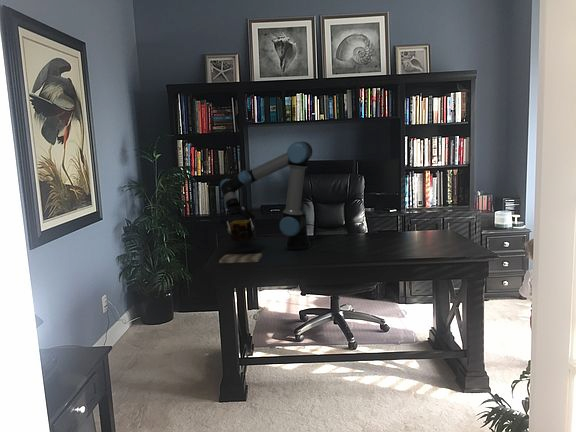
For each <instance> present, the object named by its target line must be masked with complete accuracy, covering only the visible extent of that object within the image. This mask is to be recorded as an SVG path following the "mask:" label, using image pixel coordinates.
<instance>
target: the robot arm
mask: <svg viewBox="0 0 576 432" xmlns="http://www.w3.org/2000/svg"><path fill="white" fill-rule="evenodd" d="M312 156H313V147H312V145H311V144H310V143H308V142H307V141H295V142H293V143H291V144H290V145H289V147H288V148H287V151H286V153H282V154H281V155H279V156H278V157H275V158H273V159H270V160H268V161H266V162H264V163H262V164H260V165H258V166H256V167H254V168H252V169H250V170H248V171H247V170H245V169H244V170H242V171H241V172H238V174H236V175H235V176H233V177H232V178H231V179H230V178H225V179H222V180H221V181H220V183H219V187H220V191H221V193H222V195H223V199H224V203H225V205H226V208H225V207H223V208H222V215H221V219H220V224H221V225H224V227H225V229H227V232H228V234H229V235H231V230H230V229H231V227H230V223H229V219H230V218H231V217H232V216H237V215H238V216H242V218H243V217H244V218H245V220H251V229H252V231H254V229H255V227H254V224H255V223H254V220H255V218H256V216H255V214H253V213H252V212H251V210H250V209H248V208H247V206H246V205H244V206H241V204H240V201H239V198H238V196H237V193H236V192H237V191H238V190H240V189H241V188H243V187H245V186H247V185H251V184H254V183H255V182H257V181H258V180H259V181H260V180H261V179H263V178H267V176H270V175H272V174H274V173H276V172H277V171H280V170H281V171H282V170H283V169H285V168H287V167H289V172H288V173H289V175H288V184H287V194H286V202H285V203H286V204H285V209H284V210H283V211H282V215H281V216H282V217H281V220H280V221H279V225H278V226H279V230H280V232H281V233H282V234H283V235H284V236H286V237H287V239H286V243H285V248H286V250H291V251H300V250H307V249H309V248H311V247H312V245H311V243H312V242H311V241H310V239H309V237H308V229H307V228H308V227H307V226H308V225H307V213H306V210H302V209H301V207H302V200H303V198H302V197H303V188H304V181H305V174H306V173H305V172H306V170H307V168H308V167H309V160H310V159H311V157H312ZM227 212H228V215H227V216H226V213H227ZM225 216H226V217H225Z"/></svg>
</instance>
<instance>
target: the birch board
mask: <svg viewBox="0 0 576 432" xmlns="http://www.w3.org/2000/svg"><path fill="white" fill-rule="evenodd" d="M262 257H263V253H240V254H239V253H237V254H236V253H235V254H225V255H223V256H222V257H221V258H220V259H219V260H218V263H219V264H233V263H256V262H257V263H258V262H259V261H260V259H262Z"/></svg>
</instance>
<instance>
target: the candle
mask: <svg viewBox="0 0 576 432" xmlns="http://www.w3.org/2000/svg"><path fill="white" fill-rule="evenodd" d="M229 226H230V230H231V233H230V241H234V242H239V241H240V242H241V241H249V240H251V239H252V237H253V230H252V229H251V220H248V219H243V220H241V219H240V220H238V219H237V220H233V221H232V222H230V223H229Z"/></svg>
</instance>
